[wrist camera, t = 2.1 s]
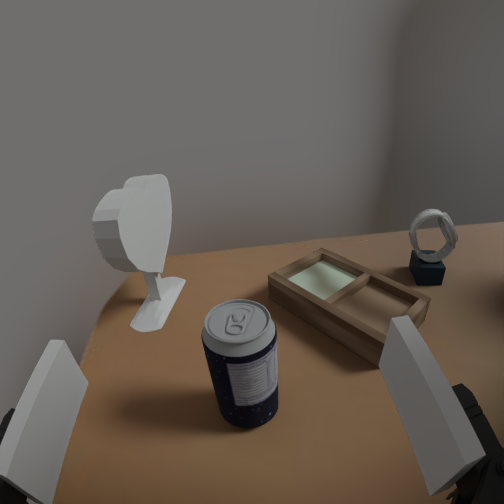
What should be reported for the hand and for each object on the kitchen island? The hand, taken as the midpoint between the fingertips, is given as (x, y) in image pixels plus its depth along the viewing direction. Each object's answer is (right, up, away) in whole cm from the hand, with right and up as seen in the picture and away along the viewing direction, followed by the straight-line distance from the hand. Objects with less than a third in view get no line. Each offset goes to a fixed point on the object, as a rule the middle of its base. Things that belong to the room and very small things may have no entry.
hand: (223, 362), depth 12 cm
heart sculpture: (-13, -3, +34) cm, 36 cm away
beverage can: (+1, -11, +17) cm, 21 cm away
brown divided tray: (+14, -4, +29) cm, 33 cm away
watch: (+29, 0, +34) cm, 45 cm away
